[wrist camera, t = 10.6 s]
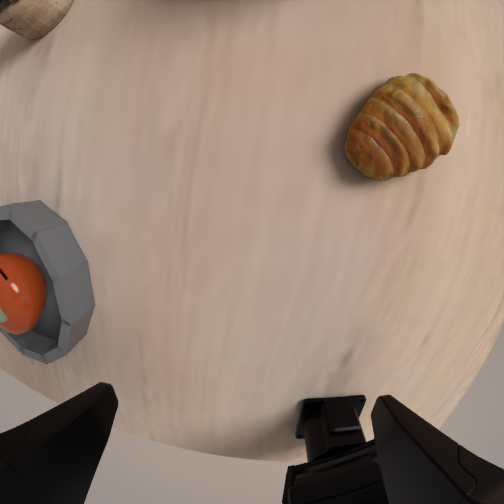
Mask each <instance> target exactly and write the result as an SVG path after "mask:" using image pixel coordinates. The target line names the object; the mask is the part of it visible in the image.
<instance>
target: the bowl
mask: <svg viewBox="0 0 504 504" xmlns="http://www.w3.org/2000/svg"><path fill="white" fill-rule="evenodd" d="M3 252H13V253H20V254H23V255H25V256H28V257H29V258H31V259H32V260H33V261H35V262H36V263H38V265H39V266H40V267H41V268H42V270H43V272H44V274H45V277H46V280H47V301H46V305H45V308H44V311H43V314H42V316H41V318H40V320H39V322H38V323H37V324H36V325H35V327H34V328H33V329H32V330H31V331H29V332H28V333H26V334H21V335H12V334H10V333H8V332H6V331H4V330H2V329H1V328H0V331H1V332H2V334H3V335H4V336H5V337H6V338H7V339H8V340H9V341H10V342H11V343H12V344H13V345H14V346H15V347H16V348H17V349H18V350H19V351H20V352H21V353H22V354H23V355H26V356H28V357H31V358H33V359H36V360H38V361H41V362H43V363H46V364H48V363H50V362H53V361H55V360H57V359H59V358H61V357H63V356H66V355H67V354H68V353H69V352H70V351H71V350H72V349H73V348H74V346H75V345H76V344H77V343H78V342H79V341H80V340H81V339H82V338H83V337H84V336H85V335H86V334H87V330H88V326H89V323H90V319H91V316H92V313H93V309H94V306H95V302H94V297H93V292H92V286H91V280H90V274H89V267H88V261H87V260H86V258H85V256H84V254H83V252H82V251H81V249H80V247H79V245H78V243H77V241H76V239H75V237H74V235H73V233H72V231H71V229H70V227H69V225H68V223H67V221H65V220H64V219H63V218H61V217H60V216H59V215H58V214H56V213H55V212H54V211H52V210H51V209H50V208H49V207H47V206H46V205H45V204H44V203H42V202H41V201H40V200H38V201H31V202H23V203H14V204H9V205H5V206H1V207H0V253H3Z"/></svg>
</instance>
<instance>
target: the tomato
mask: <svg viewBox="0 0 504 504" xmlns="http://www.w3.org/2000/svg"><path fill="white" fill-rule="evenodd" d="M46 301H47V280H46V277H45V274H44V272H43V270H42V268H41V267H40V266H39V265H38V263H36V262H35V261H33V260H32V259H31V258H29V257H28V256H25V255H23V254H20V253H13V252H3V253H0V328H1V329H2V330H4V331H6V332H8V333H10V334H12V335H21V334H26V333H28V332H29V331H31V330H32V329H33V328H34V327H35V325H36V324H37V323H38V322H39V320H40V318H41V316H42V314H43V311H44V308H45V305H46Z"/></svg>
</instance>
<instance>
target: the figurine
mask: <svg viewBox="0 0 504 504" xmlns="http://www.w3.org/2000/svg"><path fill="white" fill-rule="evenodd" d="M73 1H74V0H0V24H1V25H2V26H4V27H6V28H7V29H9V30H12V31H14V32H16V33H17V34H19V35H21V36H23V37H25V38H28V39H38V38H40V37H42V36H44V35H45V34H47V33H48V32H49V31H51V30H52V29H53V28H54V27H55V26H56V25H57V24H58V23H59V22H60V21H61V20H62V19H63V17H64V16H65V15H66V13H67V12H68V10H69V9H70V7H71V5H72V3H73Z"/></svg>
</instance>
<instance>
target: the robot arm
mask: <svg viewBox="0 0 504 504" xmlns="http://www.w3.org/2000/svg"><path fill="white" fill-rule="evenodd" d="M361 399H362V400H361ZM365 402H366V397H365V396H364V395H358V396H347V397H335V398H318V399H306V400H304V401H303V404H302V409H301V413H300V417H299V421H298V426H297V430H296V434H295V435H296V438H298V439H305V444H306V452H307V460H308V462H307V463H303V464H300V465H296V466H294V465H292V466H288V470H287V474H286V480H285V487H284V493H283V499H282V503H283V504H504V469H502V468H500V467H498V466H496V465H494V464H492V463H490V462H488V461H486V460H484V459H482V458H480V457H478V456H477V455H475V454H473V453H472V452H470V451H468V450H467V449H465V448H464V447H463V446H461V445H458V443H457V442H455V441H454V440H452V439H451V438H449V437H448V436H447V435H445V434H444V433H442V432H441V431H439V430H438V429H437V428H435V427H434V426H432V425H431V424H430V423H428V422H427V421H425V420H424V419H423V418H421V417H420V416H418V415H417V414H416V413H414V412H413V411H412V410H410V409H409V408H407V407H406V406H405V405H403V404H402V403H401V402H399V401H398V400H397V399H395V398H394V397H392V396H391V395H383V396H379V397H378V398H377V400H376V402H375V405H374V407H373V410H372V412H371V420H372V426H373V432H374V439H373V440H370V441H368V442H366V439H365V436H364V433H363V430H362V427H361V424H360V421H359V416H360V414H361V411H362V409H363V407H364V404H365ZM308 403H309V404H308ZM117 408H118V399H117V397H116V394H115V391H114V389H113V386H112V385H111V384H108V383H104V382H100V383H98V384H96V385H95V386H93V387H91V388H89V389H87V390H86V391H84V392H82V393H80V394H78V395H76V396H75V397H73V398H71V399H69V400H67V401H65V402H64V403H62V404H60V405H58V406H56V407H54V408H52V409H50V410H49V411H47V412H45V413H43V414H41V415H39V416H37V417H36V418H33V419H31V420H29V422H28V421H27V422H25V423H23V424H21V425H19V426H17V427H15V428H13V429H11V430H8V431H6V432H3V433H0V504H84V502H85V499H86V496H87V493H88V491H89V488H90V485H91V482H92V480H93V477H94V475H95V472H96V469H97V467H98V464H99V461H100V459H101V456H102V454H103V451H104V449H105V446H106V444H107V441H108V438H109V435H110V432H111V428H112V425H113V421H114V418H115V414H116V411H117Z"/></svg>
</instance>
